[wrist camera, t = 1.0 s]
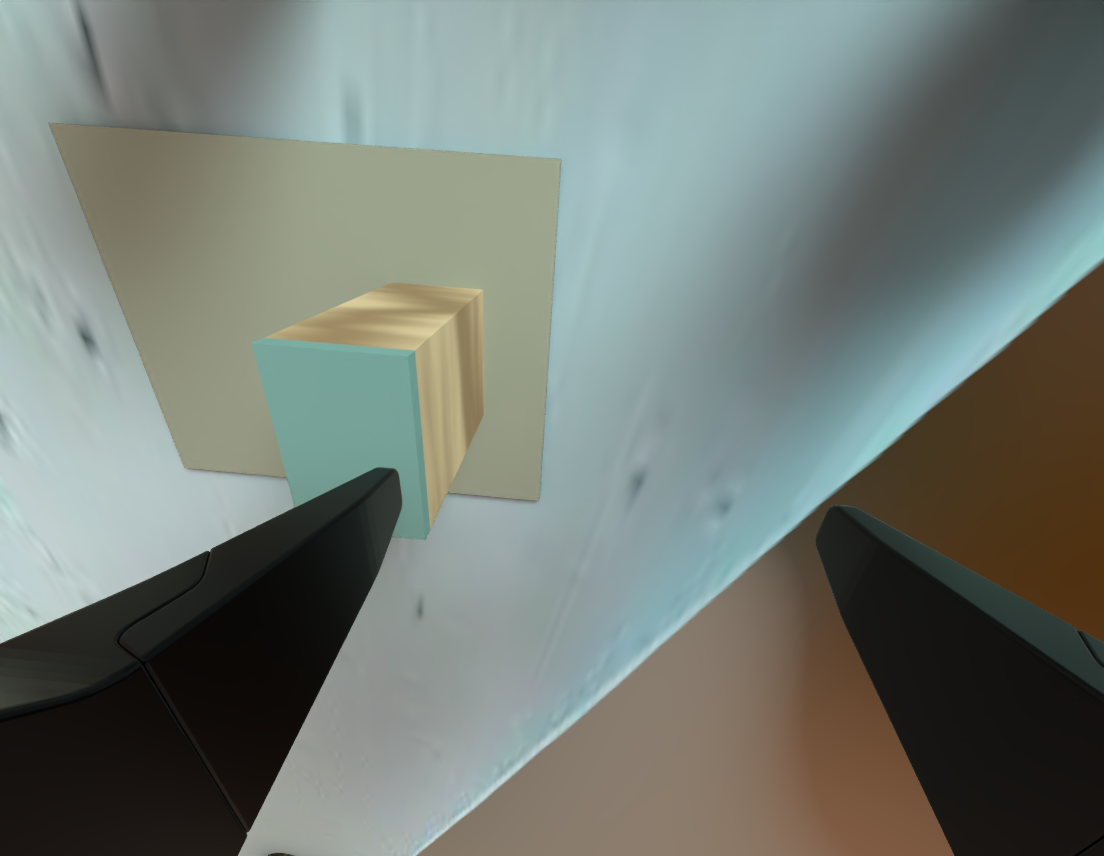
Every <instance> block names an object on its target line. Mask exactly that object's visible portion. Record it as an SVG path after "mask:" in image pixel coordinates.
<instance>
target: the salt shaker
mask: <svg viewBox="0 0 1104 856" xmlns="http://www.w3.org/2000/svg"><path fill="white" fill-rule="evenodd" d="M268 856H293V855H289V854H282V853H275V854H270V855H268Z"/></svg>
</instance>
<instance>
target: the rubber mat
mask: <svg viewBox="0 0 1104 856" xmlns="http://www.w3.org/2000/svg"><path fill="white" fill-rule="evenodd" d="M49 126H50V128H51V131H52V133H53V136H54V139H55V141H56V144H57V146H58V149H59V151H60V154H61V156H62V159H63V161H64V164H65V166H66V169H67V172H68V174H69V177H70V179H71V182H72V184H73V187H74V189H75V192H76V194H77V197H78V199H79V202H80V204H81V207H82V210H83V212H84V215H85V217H86V220H87V222H88V225H89V227H90V230H91V232H92V235H93V237H94V240H95V243H96V245H97V248H98V250H99V253H100V255H101V258H102V260H103V263H104V265H105V268H106V270H107V273H108V275H109V278H110V281H111V283H112V286H113V288H114V291H115V293H116V296H117V298H118V301H119V303H120V306H121V308H122V311H123V314H124V316H125V319H126V321H127V324H128V326H129V329H130V331H131V334H132V336H133V339H134V341H135V344H136V347H137V349H138V352H139V354H140V357H141V359H142V362H143V364H144V367H145V369H146V372H147V374H148V377H149V379H150V382H151V385H152V387H153V390H154V392H155V395H156V397H157V400H158V402H159V405H160V407H161V410H162V412H163V415H164V418H165V420H166V423H167V425H168V428H169V430H170V433H171V435H172V438H173V440H174V443H175V445H176V448H177V451H178V453H179V456H180V458H181V461H182V463H183V466H184V468H192V469H203V470H214V471H224V472H235V473H246V474H256V475H267V476H278V477H287V476H286V472H285V468H284V465H283V461H282V457H281V453H280V449H279V446H278V442H277V438H276V434H275V431H274V427H273V423H272V419H271V416H270V412H269V408H268V404H267V401H266V397H265V393H264V389H263V386H262V382H261V378H260V374H259V371H258V367H257V363H256V359H255V356H254V352H253V348H252V344H251V343H253V342H256V341H258V340H260V339H262V338H265V337H267V336H269V335H272V334H274V333H276V332H279V331H281V330H283V329H285V328H288V327H290V326H292V325H295V324H297V323H299V322H302V321H304V320H306V319H309V318H311V317H313V316H315V315H318V314H320V313H322V312H325V311H327V310H329V309H332V308H334V307H336V306H338V305H341V304H343V303H345V302H348V301H350V300H352V299H355V298H357V297H359V296H362V295H364V294H366V293H368V292H371V291H373V290H375V289H378V288H380V287H382V286H385V285H387V284H389V283H404V284H416V285H429V286H441V287H454V288H466V289H479V290H483V361H484V416H483V418H482V420H481V422H480V424H479V426H478V428H477V430H476V433H475V435H474V437H473V439H472V441H471V443H470V445H469V448H468V450H467V452H466V454H465V456H464V458H463V460H462V462H461V465H460V467H459V469H458V471H457V473H456V475H455V477H454V480H453V482H452V484H451V486H450V488H449V490H448V493H459V494H470V495H480V496H491V497H501V498H512V499H523V500H533V501H539V498H540V485H541V469H542V454H543V438H544V422H545V407H546V391H547V375H548V360H549V344H550V328H551V313H552V297H553V281H554V265H555V250H556V234H557V218H558V203H559V187H560V171H561V159H553V158H539V157H525V156H510V155H496V154H482V153H468V152H454V151H440V150H426V149H412V148H398V147H383V146H369V145H355V144H341V143H327V142H313V141H299V140H285V139H270V138H256V137H242V136H228V135H214V134H200V133H186V132H172V131H157V130H143V129H129V128H115V127H101V126H87V125H73V124H59V123H49Z"/></svg>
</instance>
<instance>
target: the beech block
mask: <svg viewBox="0 0 1104 856" xmlns="http://www.w3.org/2000/svg"><path fill="white" fill-rule="evenodd" d="M251 344H252V348H253V352H254V356H255V359H256V363H257V367H258V371H259V374H260V378H261V382H262V386H263V389H264V393H265V397H266V401H267V404H268V408H269V412H270V416H271V419H272V423H273V427H274V431H275V434H276V438H277V442H278V446H279V449H280V453H281V457H282V461H283V465H284V468H285V472H286V476H287V480H288V483H289V487H290V491H291V495H292V498H293V502H294V506H295V507H297V506H299V505H301V504H303V503H305V502H307V501H309V500H311V499H313V498H315V497H317V496H319V495H321V494H323V493H325V492H327V491H329V490H332V489H334V488H336V487H338V486H340V485H342V484H344V483H346V482H348V481H350V480H352V479H354V478H356V477H358V476H360V475H362V474H364V473H366V472H368V471H370V470H372V469H374V468H376V467H385V468H395V469H396V470H397V471H398V473H399V478H400V486H401V493H402V509H401V513H400V515H399V518H398V521H397V524H396V526H395V529H394V532H393V535H392V537H400V538H410V539H421V540H425V539H426V537H427V535H428V533H429V531H430V529H431V527H432V524H433V522H434V520H435V518H436V516H437V514H438V512H439V509H440V507H441V505H442V503H443V501H444V499H445V497H446V495H447V492H448V490H449V488H450V486H451V484H452V482H453V480H454V477H455V475H456V473H457V471H458V469H459V467H460V465H461V462H462V460H463V458H464V456H465V454H466V452H467V450H468V448H469V445H470V443H471V441H472V439H473V437H474V435H475V433H476V430H477V428H478V426H479V424H480V422H481V420H482V418H483V416H484V361H483V290H479V289H466V288H454V287H441V286H429V285H416V284H404V283H389V284H387V285H385V286H382V287H380V288H378V289H375V290H373V291H371V292H368V293H366V294H364V295H362V296H359V297H357V298H355V299H352V300H350V301H348V302H345V303H343V304H341V305H338V306H336V307H334V308H332V309H329V310H327V311H325V312H322V313H320V314H318V315H315V316H313V317H311V318H309V319H306V320H304V321H302V322H299V323H297V324H295V325H292V326H290V327H288V328H285V329H283V330H281V331H279V332H276V333H274V334H272V335H269V336H267V337H265V338H262V339H260V340H258V341H256V342H253V343H251Z"/></svg>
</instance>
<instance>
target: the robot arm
mask: <svg viewBox="0 0 1104 856" xmlns="http://www.w3.org/2000/svg"><path fill="white" fill-rule="evenodd" d="M401 509H402V493H401V486H400V478H399V473H398V471H397V470H396V469H395V468H385V467H376V468H374V469H372V470H370V471H368V472H366V473H364V474H362V475H360V476H358V477H356V478H354V479H352V480H350V481H348V482H346V483H344V484H342V485H340V486H338V487H336V488H334V489H332V490H329V491H327V492H325V493H323V494H321V495H319V496H317V497H315V498H313V499H311V500H309V501H307V502H305V503H303V504H301V505H299V506H297V507H295V508H293V509H291V510H289V511H287V512H285V513H283V514H281V515H279V516H277V517H275V518H273V519H271V520H269V521H267V522H265V523H263V524H261V525H258V526H256V527H254V528H252V529H250V530H248V531H246V532H244V533H242V534H240V535H238V536H236V537H234V538H232V539H230V540H228V541H226V542H224V543H222V544H220V545H218V546H216V547H214V548H212V549H211V551H210V552H209V551H205V552H203V553H201V554H199V555H197V556H195V557H193V558H191V559H189V560H187V561H185V562H183V563H181V564H179V565H177V566H175V567H173V568H171V569H169V570H167V571H164V572H162V573H160V574H158V575H156V576H154V577H152V578H150V579H148V580H145V581H143V582H141V583H139V584H136V585H134V586H132V587H130V588H127V589H125V590H123V591H121V592H118V593H116V594H114V595H112V596H109V597H107V598H105V599H102V600H100V601H98V602H96V603H93V604H91V605H89V606H86V607H84V608H82V609H79V610H77V611H75V612H72V613H70V614H68V615H65V616H63V617H61V618H59V619H56V620H54V621H52V622H49V623H47V624H45V625H42V626H40V627H38V628H35V629H33V630H31V631H28V632H26V633H24V634H21V635H19V636H17V637H15V638H12V639H10V640H8V641H5V642H3V643H1V644H0V856H238V854H239V852H240V850H241V848H242V846H243V844H244V842H245V840H246V838H247V832H249V831H250V829H251V827H252V825H253V823H254V821H255V819H256V817H257V815H258V813H259V811H260V809H261V807H262V805H263V803H264V801H265V799H266V797H267V795H268V793H269V791H270V789H271V787H272V785H273V783H274V781H275V779H276V777H277V775H278V773H279V771H280V769H281V767H282V765H283V763H284V761H285V759H286V757H287V755H288V753H289V751H290V749H291V747H292V745H293V743H294V741H295V739H296V737H297V735H298V733H299V731H300V729H301V727H302V725H303V723H304V721H305V719H306V717H307V715H308V713H309V711H310V709H311V707H312V705H313V703H314V701H315V699H316V697H317V695H318V693H319V691H320V689H321V687H322V685H323V683H324V681H325V679H326V677H327V675H328V673H329V671H330V669H331V667H332V665H333V663H334V661H335V659H336V657H337V655H338V653H339V651H340V649H341V647H342V645H343V643H344V641H345V639H346V637H347V635H348V633H349V631H350V629H351V627H352V625H353V623H354V621H355V619H356V617H357V615H358V613H359V611H360V609H361V607H362V605H363V603H364V601H365V599H366V597H367V595H368V593H369V591H370V589H371V587H372V585H373V583H374V581H375V579H376V577H377V575H378V572H379V570H380V567H381V565H382V562H383V559H384V557H385V554H386V551H387V548H388V546H389V543H390V540H391V537H392V535H393V532H394V529H395V526H396V524H397V521H398V518H399V515H400V513H401ZM816 547H817V551H818V553H819V556H820V559H821V562H822V565H823V568H824V570H825V573H826V576H827V579H828V582H829V585H830V587H831V590H832V593H833V596H834V599H835V601H836V604H837V607H838V609H839V612H840V615H841V617H842V619H843V621H844V624H845V626H846V628H847V630H848V632H849V635H850V636H851V639H852V641H853V643H854V645H855V647H856V649H857V651H858V653H859V656H860V658H861V660H862V662H863V664H864V666H865V668H866V670H867V672H868V674H869V676H870V679H871V681H872V682H873V685H874V687H875V689H876V691H877V693H878V696H879V697H880V700H881V702H882V704H883V706H884V708H885V710H886V712H887V714H888V716H889V719H890V721H891V723H892V725H893V727H894V729H895V731H896V733H897V736H898V737H899V740H900V742H901V744H902V746H903V748H904V750H905V752H906V755H907V757H908V759H909V761H910V763H911V765H912V767H913V769H914V771H915V773H916V776H917V777H918V780H919V782H920V784H921V786H922V788H923V790H924V792H925V795H926V796H927V799H928V801H929V803H930V805H931V807H932V809H933V811H934V814H935V816H936V818H937V820H938V822H939V824H940V826H941V828H942V830H943V832H944V835H945V837H946V839H947V841H948V843H949V845H950V847H951V849H952V851H953V854H954V856H1104V643H1103V642H1102V641H1099V640H1098V639H1096V638H1094V637H1092V636H1090V635H1088V634H1087V633H1085V632H1083V631H1080V630H1078V631H1077V630H1076V628H1075V627H1074V626H1072V625H1070V624H1068V623H1066V622H1065V621H1063V620H1061V619H1059V618H1057V617H1056V616H1054V615H1052V614H1050V613H1048V612H1046V611H1045V610H1043V609H1041V608H1039V607H1037V606H1035V605H1034V604H1032V603H1030V602H1028V601H1026V600H1024V599H1023V598H1021V597H1019V596H1017V595H1015V594H1013V593H1012V592H1010V591H1008V590H1006V589H1004V588H1003V587H1000V586H999V585H997V584H995V583H993V582H992V581H989V580H988V579H986V578H984V577H982V576H981V575H979V574H977V573H975V572H973V571H971V570H969V569H967V568H966V567H964V566H962V565H960V564H958V563H957V562H955V561H953V560H951V559H949V558H948V557H946V556H944V555H942V554H940V553H938V552H936V551H935V550H933V549H931V548H929V547H927V546H926V545H924V544H922V543H920V542H918V541H916V540H915V539H913V538H911V537H909V536H907V535H906V534H904V533H902V532H900V531H898V530H896V529H894V528H893V527H891V526H889V525H887V524H885V523H884V522H882V521H880V520H878V519H876V518H874V517H873V516H871V515H869V514H867V513H865V512H863V511H862V510H860V509H858V508H856V507H853V506H843V505H833V506H831V507H830V508H828V510H827V512H826V514H825V516H824V519H823V521H822V523H821V526H820V528H819V530H818V532H817V535H816Z"/></svg>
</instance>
